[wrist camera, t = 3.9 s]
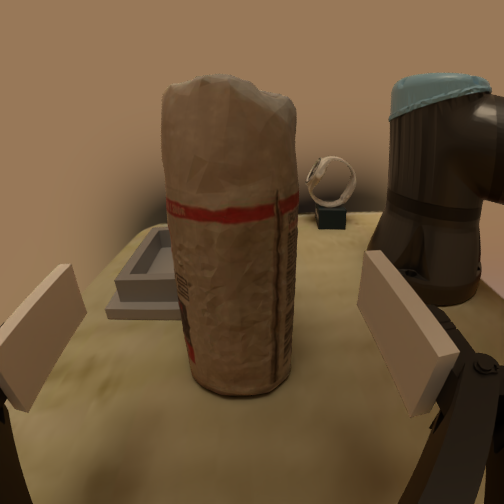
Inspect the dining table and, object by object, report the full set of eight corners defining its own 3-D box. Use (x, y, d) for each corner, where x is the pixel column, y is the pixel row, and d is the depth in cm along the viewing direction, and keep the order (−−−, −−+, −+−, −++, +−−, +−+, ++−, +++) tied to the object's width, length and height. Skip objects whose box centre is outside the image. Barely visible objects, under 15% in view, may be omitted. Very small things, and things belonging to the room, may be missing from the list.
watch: (304, 217, 54) (304, 154, 49) (349, 218, 53) (352, 155, 49) (306, 229, 49) (306, 159, 44) (356, 229, 48) (360, 160, 44)
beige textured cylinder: (210, 321, 29) (187, 89, 20) (300, 333, 27) (303, 80, 18) (171, 387, 21) (114, 85, 13) (282, 409, 19) (282, 60, 11)
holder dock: (268, 243, 44) (267, 218, 43) (279, 316, 29) (279, 282, 27) (150, 249, 44) (146, 225, 43) (108, 318, 29) (98, 287, 27)
